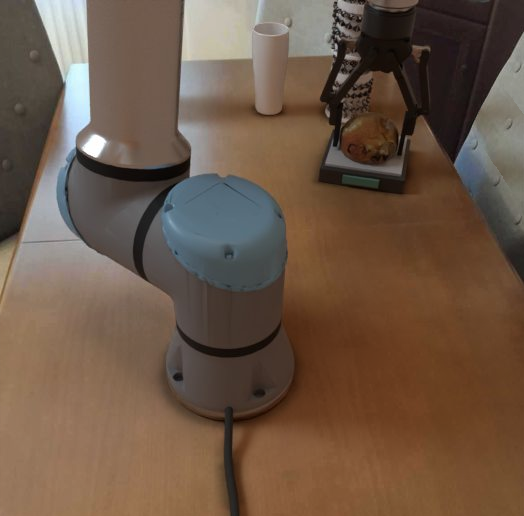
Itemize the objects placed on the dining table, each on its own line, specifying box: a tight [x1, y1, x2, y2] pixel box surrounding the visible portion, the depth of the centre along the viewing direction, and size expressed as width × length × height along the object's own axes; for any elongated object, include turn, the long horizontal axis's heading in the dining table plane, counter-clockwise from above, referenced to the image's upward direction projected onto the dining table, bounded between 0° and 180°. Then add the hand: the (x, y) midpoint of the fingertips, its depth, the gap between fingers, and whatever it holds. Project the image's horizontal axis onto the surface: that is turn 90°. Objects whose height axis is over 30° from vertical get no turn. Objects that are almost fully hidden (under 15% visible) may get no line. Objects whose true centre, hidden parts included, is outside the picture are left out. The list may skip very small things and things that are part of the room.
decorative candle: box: [324, 0, 374, 124], centre depth 109 cm, size 9×9×25 cm
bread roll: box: [339, 111, 400, 164], centre depth 101 cm, size 10×10×8 cm
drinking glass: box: [251, 21, 290, 116], centre depth 112 cm, size 7×7×15 cm
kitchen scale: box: [318, 128, 412, 195], centre depth 103 cm, size 14×14×3 cm
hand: (367, 147), depth 102 cm, fingers open, 10 cm apart
